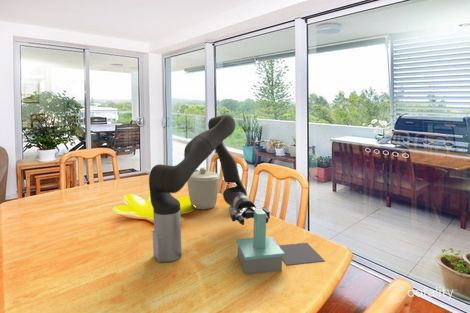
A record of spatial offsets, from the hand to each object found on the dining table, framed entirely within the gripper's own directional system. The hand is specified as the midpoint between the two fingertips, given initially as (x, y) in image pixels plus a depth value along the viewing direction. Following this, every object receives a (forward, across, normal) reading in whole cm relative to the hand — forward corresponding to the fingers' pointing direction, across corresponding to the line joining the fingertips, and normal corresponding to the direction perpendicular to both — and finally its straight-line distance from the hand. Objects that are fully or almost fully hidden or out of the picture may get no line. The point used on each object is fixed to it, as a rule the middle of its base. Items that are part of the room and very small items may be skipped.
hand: (255, 221), depth 108 cm
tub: (+5, 0, +14) cm, 15 cm away
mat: (+2, +16, +14) cm, 21 cm away
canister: (-58, -11, +14) cm, 61 cm away
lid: (+5, 0, +8) cm, 9 cm away
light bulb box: (-52, +6, +14) cm, 54 cm away
